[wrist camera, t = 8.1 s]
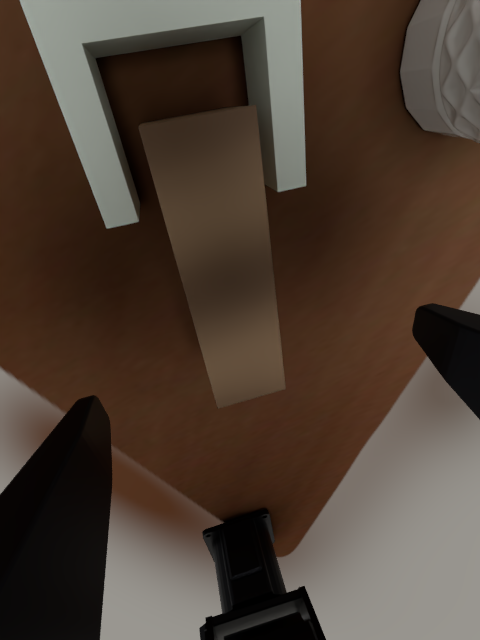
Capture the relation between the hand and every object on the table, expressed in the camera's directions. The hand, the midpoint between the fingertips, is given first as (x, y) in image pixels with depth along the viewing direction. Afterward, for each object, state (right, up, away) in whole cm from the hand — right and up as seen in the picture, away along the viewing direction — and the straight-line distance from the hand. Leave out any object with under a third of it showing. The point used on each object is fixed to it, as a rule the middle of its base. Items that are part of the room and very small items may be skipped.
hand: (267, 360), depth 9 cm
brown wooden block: (-2, +5, +8) cm, 10 cm away
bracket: (-3, +9, +5) cm, 11 cm away
